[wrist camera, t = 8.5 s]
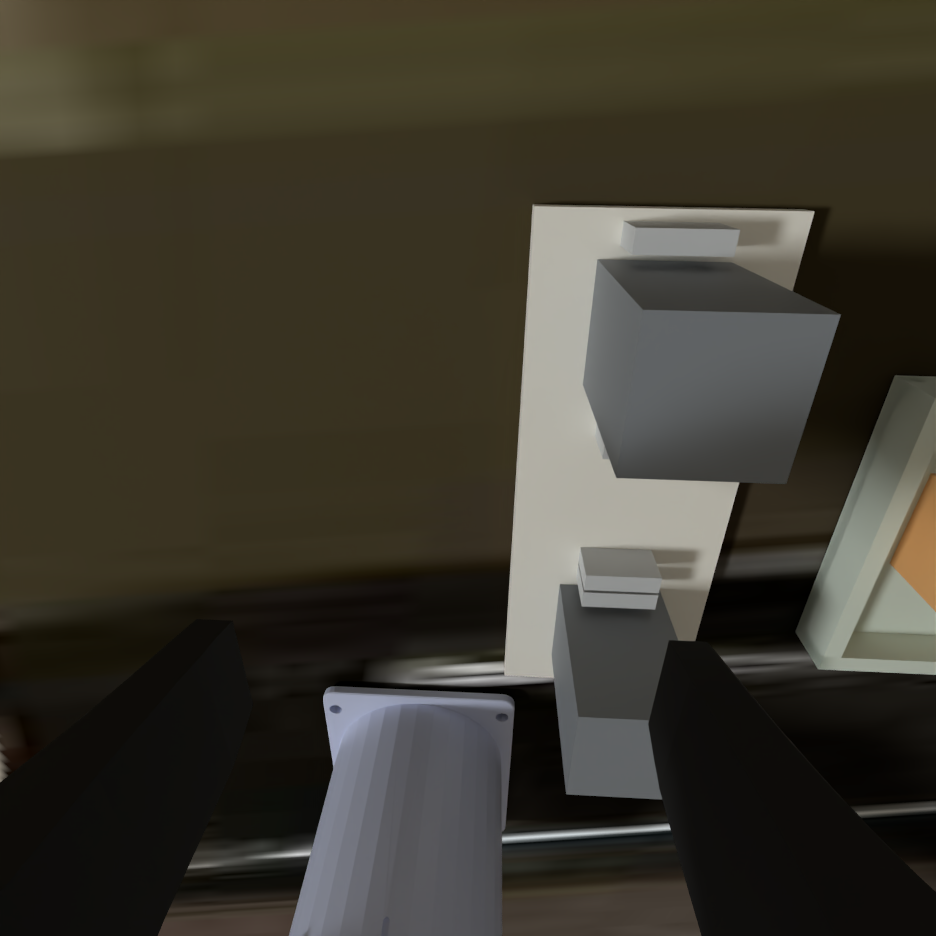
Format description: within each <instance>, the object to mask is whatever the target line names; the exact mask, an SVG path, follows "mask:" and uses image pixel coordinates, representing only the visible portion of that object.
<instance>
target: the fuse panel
mask: <svg viewBox="0 0 936 936" xmlns="http://www.w3.org/2000/svg"><path fill="white" fill-rule="evenodd" d="M814 212H815V211H810V210H805V209H760V208H707V207H653V206H599V205H545V204H533V210H532V226H531V242H530V258H529V274H528V291H527V307H526V323H525V339H524V355H523V372H522V388H521V404H520V420H519V436H518V453H517V469H516V485H515V501H514V517H513V534H512V550H511V566H510V582H509V598H508V615H507V631H506V647H505V663H504V667H505V676H524V677H546V678H554V683H555V693H556V702H557V712H558V722H559V731H560V741H561V750H562V760H563V769H564V779H565V788H566V794H568V795H587V796H605V797H624V798H643V799H662V796H661V793H660V789H659V784H658V778H657V773H656V767H655V762H654V756H653V750H652V744H651V738H650V732H649V726H648V723H649V719H650V715H651V711H652V707H653V703H654V699H655V694H656V690H657V686H658V682H659V678H660V674H661V670H662V666H663V662H664V658H665V654H666V650H667V646H668V642H669V640H678V641H695V640H696V636H697V633H698V629H699V625H700V622H701V618H702V615H703V611H704V607H705V604H706V600H707V597H708V593H709V590H710V586H711V582H712V579H713V575H714V572H715V568H716V564H717V561H718V557H719V554H720V550H721V546H722V543H723V539H724V536H725V532H726V528H727V525H728V521H729V518H730V514H731V510H732V507H733V503H734V500H735V496H736V492H737V489H738V485H739V482H744V483H773V484H786V483H787V480H788V477H789V474H790V470H791V467H792V464H793V461H794V458H795V455H796V452H797V449H798V446H799V443H800V440H801V436H802V433H803V430H804V427H805V424H806V421H807V418H808V415H809V412H810V409H811V406H812V403H813V399H814V396H815V393H816V390H817V387H818V384H819V381H820V378H821V375H822V372H823V369H824V365H825V362H826V359H827V356H828V353H829V350H830V347H831V344H832V341H833V338H834V335H835V332H836V328H837V325H838V322H839V319H840V316H841V314H838V313H836V312H834V311H832V310H830V309H828V308H826V307H824V306H822V305H820V304H818V303H816V302H814V301H811V300H809V299H807V298H805V297H803V296H801V295H799V294H797V293H795V292H793V287H794V284H795V280H796V277H797V273H798V270H799V266H800V262H801V259H802V255H803V252H804V248H805V244H806V241H807V237H808V234H809V230H810V226H811V223H812V219H813V216H814Z"/></svg>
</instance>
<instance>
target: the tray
mask: <svg viewBox="0 0 936 936" xmlns="http://www.w3.org/2000/svg"><path fill="white" fill-rule="evenodd" d="M931 473H936V377H934V376H899V375H895V376H894V379H893V381H892V384H891V387H890V389H889V392H888V394H887V397H886V399H885V402H884V405H883V407H882V410H881V412H880V415H879V417H878V420H877V423H876V425H875V428H874V430H873V433H872V435H871V438H870V441H869V443H868V446H867V448H866V451H865V453H864V456H863V459H862V461H861V464H860V466H859V469H858V471H857V474H856V477H855V479H854V482H853V484H852V487H851V489H850V492H849V495H848V497H847V500H846V502H845V505H844V508H843V510H842V513H841V515H840V518H839V520H838V523H837V526H836V528H835V531H834V533H833V536H832V538H831V541H830V544H829V546H828V549H827V551H826V554H825V556H824V559H823V562H822V564H821V567H820V569H819V572H818V574H817V577H816V580H815V582H814V585H813V587H812V590H811V592H810V595H809V598H808V600H807V603H806V605H805V608H804V610H803V613H802V616H801V618H800V621H799V623H798V626H797V629H796V631H795V632H796V634H797V636H798V637H799V639H800V641H801V642H802V644H803V645H804V647H805V649H806V650H807V652H808V654H809V655H810V657H811V658H812V660H813V662H814V663H815V665H816V667H817V668H818V669H823V670H845V671H867V672H889V673H911V674H933V675H936V612H935V611H934V610H933V609H932V608H931V606H930V605H929V604H928V603H927V602H926V601H925V600H924V599H923V598H922V597H921V596H920V595H919V594H918V593H917V592H916V591H915V590H914V588H913V587H912V586H911V585H910V584H909V583H908V582H907V581H906V580H905V579H904V578H903V577H902V576H901V575H900V574H899V573H898V572H897V571H896V569H895V568H894V567H893V566H892V565H891V564H890V561H891V559H892V557H893V555H894V552H895V550H896V548H897V546H898V544H899V542H900V539H901V537H902V535H903V533H904V531H905V529H906V526H907V524H908V522H909V520H910V518H911V516H912V513H913V511H914V509H915V507H916V505H917V502H918V500H919V498H920V496H921V494H922V492H923V489H924V487H925V485H926V483H927V481H928V479H929V476H930V474H931Z"/></svg>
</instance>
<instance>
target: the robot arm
mask: <svg viewBox="0 0 936 936" xmlns="http://www.w3.org/2000/svg"><path fill="white" fill-rule="evenodd" d="M323 703H324V709H325V716H326V722H327V728H328V735H329V741H330V747H331V754H332V760H333V766H334V769H333V773H332V776H331V780H330V784H329V788H328V791H327V795H326V799H325V803H324V806H323V810H322V814H321V818H320V821H319V825H318V829H317V833H316V836H315V840H314V844H313V848H312V851H311V855H310V859H309V863H308V866H307V870H306V874H305V878H304V881H303V885H302V889H301V893H300V896H299V900H298V904H297V908H296V911H295V915H294V919H293V922H292V926H291V930H290V934H289V936H502V831H503V830H504V829H505V826H506V813H507V800H508V787H509V774H510V761H511V749H512V736H513V723H514V710H515V707H514V700H513V699H512V697H510V696H508V695H505V694H490V693H469V692H448V691H427V690H406V689H385V688H364V687H343V686H332V687H329V688H327V689H326V691H325V693H324V697H323ZM252 706H253V703H252V699H251V695H250V691H249V687H248V682H247V678H246V674H245V670H244V666H243V662H242V658H241V654H240V650H239V646H238V642H237V638H236V634H235V630H234V625H233V621H223V620H201V619H196V620H195V621H194V622H193V623H192V624H190V625H189V626H188V627H187V628H186V629H184V630H183V631H182V632H181V633H180V634H179V635H177V636H176V637H175V638H174V639H173V640H172V641H171V642H169V643H168V644H167V645H166V646H165V647H164V648H163V649H161V650H160V651H159V652H158V653H157V654H156V655H154V656H153V657H152V658H151V659H150V660H149V661H148V662H146V663H145V664H144V665H143V666H142V667H141V668H139V669H138V670H137V671H136V672H135V673H134V674H133V675H131V676H130V677H129V678H128V679H127V680H126V681H124V682H123V683H122V684H121V685H120V686H119V687H117V688H116V689H115V690H114V691H113V692H112V693H110V694H109V695H108V696H107V697H106V698H105V699H103V700H102V701H101V702H100V703H99V704H97V705H96V706H95V707H94V708H93V709H91V710H90V711H89V712H88V713H87V714H86V715H84V716H83V717H82V718H81V719H80V720H78V721H77V722H76V723H75V724H74V725H72V726H71V727H70V728H69V729H67V730H66V731H65V732H64V733H62V734H61V735H60V736H59V737H57V738H56V739H55V740H54V741H52V742H51V743H50V744H48V745H47V746H46V747H45V748H43V749H42V750H41V751H40V752H38V753H37V754H36V755H35V756H33V757H32V758H31V759H29V760H28V761H27V762H26V763H24V764H23V765H22V766H21V767H19V768H18V769H17V770H16V771H14V772H13V773H12V774H10V775H9V776H8V777H7V778H5V779H4V780H3V781H2V782H0V936H158V933H159V931H160V929H161V926H162V924H163V921H164V919H165V917H166V914H167V912H168V910H169V908H170V906H171V903H172V901H173V899H174V897H175V895H176V892H177V890H178V888H179V886H180V884H181V881H182V879H183V877H184V875H185V873H186V870H187V868H188V866H189V864H190V862H191V859H192V857H193V855H194V853H195V851H196V848H197V846H198V844H199V842H200V840H201V837H202V835H203V833H204V831H205V829H206V826H207V824H208V822H209V820H210V818H211V815H212V813H213V811H214V809H215V806H216V804H217V802H218V800H219V797H220V795H221V793H222V791H223V788H224V786H225V784H226V782H227V779H228V777H229V775H230V772H231V770H232V768H233V765H234V762H235V759H236V756H237V753H238V750H239V747H240V744H241V741H242V738H243V735H244V732H245V729H246V725H247V722H248V719H249V716H250V712H251V709H252ZM501 713H503V714H501ZM648 726H649V732H650V738H651V744H652V750H653V756H654V762H655V767H656V773H657V778H658V784H659V789H660V793H661V796H662V800H663V803H664V807H665V811H666V814H667V818H668V821H669V825H670V828H671V832H672V835H673V839H674V842H675V846H676V849H677V853H678V856H679V859H680V863H681V866H682V870H683V873H684V877H685V880H686V883H687V887H688V890H689V894H690V897H691V901H692V904H693V908H694V911H695V914H696V918H697V921H698V925H699V928H700V932H701V935H702V936H936V892H935V891H934V890H933V889H932V888H931V887H930V886H929V885H927V884H926V883H925V882H924V881H923V880H922V879H921V878H920V877H919V876H918V875H917V874H916V873H915V872H914V871H913V870H912V869H911V868H910V867H909V866H908V865H907V864H906V863H905V862H904V861H903V860H902V859H901V858H900V857H899V856H898V855H897V854H896V853H895V852H894V851H893V850H892V849H891V848H890V847H889V846H888V845H887V844H886V843H885V842H884V841H883V840H882V839H881V838H880V837H879V836H878V835H877V834H876V833H875V832H874V831H873V830H872V829H871V828H870V827H869V826H868V825H867V824H866V823H865V822H864V821H863V820H862V819H861V817H860V816H859V815H858V814H857V813H856V812H855V811H854V810H853V809H852V808H851V807H850V806H849V805H848V804H847V803H846V802H845V801H844V800H843V799H842V797H841V796H840V795H839V794H838V793H837V792H836V791H835V790H834V789H833V788H832V787H831V786H830V784H829V783H828V782H827V781H826V780H825V779H824V778H823V777H822V776H821V775H820V773H819V772H818V771H817V770H816V769H815V768H814V767H813V766H812V764H811V763H810V762H809V761H808V760H807V759H806V758H805V757H804V755H803V754H802V753H801V752H800V751H799V750H798V749H797V748H796V746H795V745H794V744H793V743H792V742H791V741H790V740H789V739H788V737H787V736H786V735H785V734H784V733H783V732H782V730H781V729H780V728H779V727H778V726H777V725H776V723H775V722H774V721H773V720H772V719H771V718H770V716H769V715H768V714H767V713H766V712H765V710H764V709H763V708H762V707H761V706H760V705H759V703H758V702H757V701H756V700H755V699H754V697H753V696H752V695H751V694H750V693H749V691H748V690H747V689H746V688H745V687H744V685H743V684H742V683H741V682H740V680H739V679H738V678H737V677H736V676H735V674H734V673H733V672H732V671H731V670H730V668H729V667H728V666H727V665H726V663H725V662H724V661H723V660H722V659H721V657H720V656H719V655H718V654H717V653H716V651H715V650H714V649H713V648H712V647H711V646H710V644H709V643H708V642H701V641H678V640H669V642H668V646H667V650H666V654H665V658H664V662H663V666H662V670H661V674H660V678H659V682H658V686H657V690H656V694H655V699H654V703H653V707H652V711H651V715H650V719H649V723H648Z"/></svg>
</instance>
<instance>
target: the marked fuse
mask: <svg viewBox="0 0 936 936" xmlns="http://www.w3.org/2000/svg"><path fill="white" fill-rule="evenodd" d="M890 564H891V565H892V566H893V567H894V568H895V569H896V571H897V572H898V573H899V574H900V575H901V576H902V577H903V578H904V579H905V580H906V581H907V582H908V583H909V584H910V585H911V586H912V587H913V588H914V590H915V591H916V592H917V593H918V594H919V595H920V596H921V597H922V598H923V599H924V600H925V601H926V602H927V603H928V604H929V605H930V606H931V608H932V609H933V610H934V611H935V612H936V473H931V474H930V476H929V479H928V481H927V483H926V485H925V487H924V489H923V492H922V494H921V496H920V498H919V500H918V502H917V505H916V507H915V509H914V511H913V513H912V516H911V518H910V520H909V522H908V524H907V526H906V529H905V531H904V533H903V535H902V537H901V539H900V542H899V544H898V546H897V548H896V550H895V552H894V555H893V557H892V559H891V561H890Z"/></svg>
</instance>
